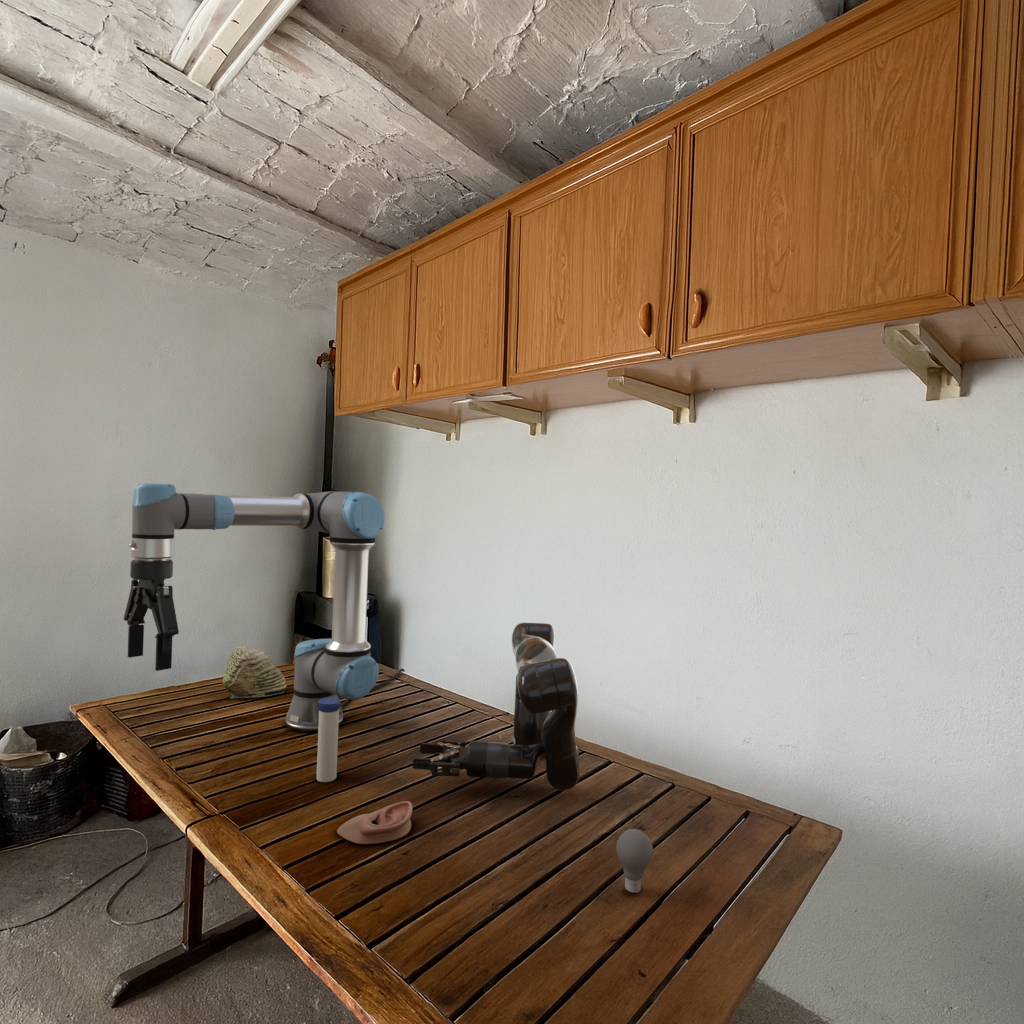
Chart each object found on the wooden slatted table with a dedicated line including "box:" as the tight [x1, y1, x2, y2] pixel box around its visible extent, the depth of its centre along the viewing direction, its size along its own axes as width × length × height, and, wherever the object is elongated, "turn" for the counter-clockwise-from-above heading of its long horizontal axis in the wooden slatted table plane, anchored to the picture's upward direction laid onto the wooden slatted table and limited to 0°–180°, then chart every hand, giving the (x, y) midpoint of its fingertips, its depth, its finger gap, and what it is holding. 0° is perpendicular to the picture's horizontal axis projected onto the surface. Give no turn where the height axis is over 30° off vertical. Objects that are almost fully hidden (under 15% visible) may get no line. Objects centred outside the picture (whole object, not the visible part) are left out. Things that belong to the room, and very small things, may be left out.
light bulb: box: [615, 828, 654, 894], centre depth 106 cm, size 6×6×10 cm
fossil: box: [222, 646, 288, 699], centre depth 198 cm, size 9×18×15 cm, turn 132°
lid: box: [318, 697, 342, 712], centre depth 142 cm, size 5×5×2 cm
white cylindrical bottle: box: [316, 710, 339, 783], centre depth 143 cm, size 4×4×17 cm
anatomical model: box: [336, 800, 414, 845], centre depth 121 cm, size 13×4×12 cm
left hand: (148, 662), depth 129 cm, fingers open, 13 cm apart
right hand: (416, 755), depth 142 cm, fingers open, 8 cm apart
